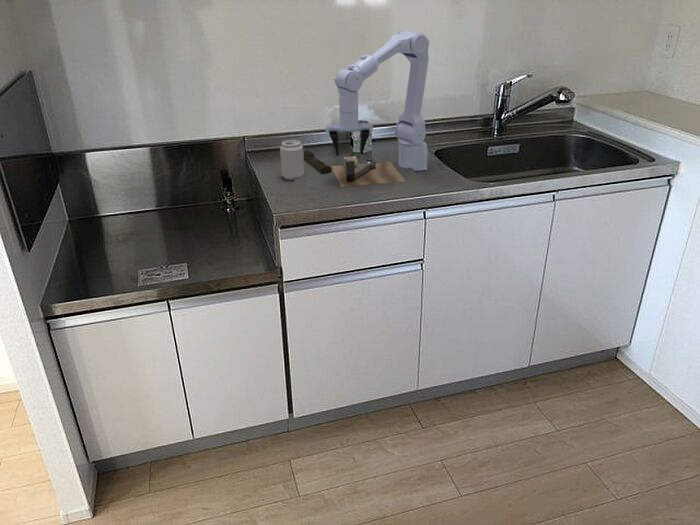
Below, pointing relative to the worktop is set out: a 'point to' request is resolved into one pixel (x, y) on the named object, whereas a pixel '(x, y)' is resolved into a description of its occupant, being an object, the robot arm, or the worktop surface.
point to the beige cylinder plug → (354, 161)
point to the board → (369, 174)
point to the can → (292, 159)
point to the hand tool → (316, 163)
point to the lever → (358, 168)
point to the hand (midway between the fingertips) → (349, 154)
